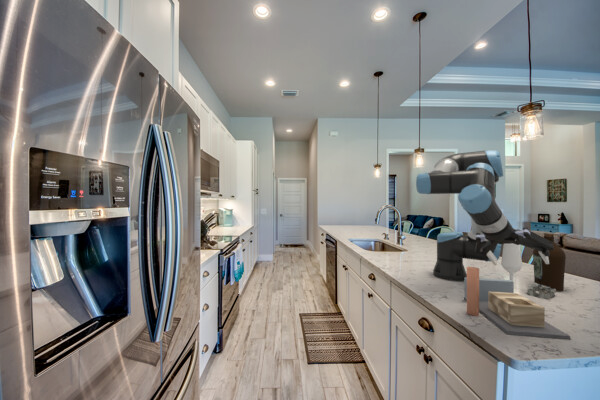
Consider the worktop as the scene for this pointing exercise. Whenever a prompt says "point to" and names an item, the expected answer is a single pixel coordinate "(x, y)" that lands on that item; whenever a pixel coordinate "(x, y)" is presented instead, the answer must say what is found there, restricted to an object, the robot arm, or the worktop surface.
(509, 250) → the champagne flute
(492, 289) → the wall
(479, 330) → the worktop surface
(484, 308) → the mat
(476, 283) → the dowel
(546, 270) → the olive oil
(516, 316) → the socket block
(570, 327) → the worktop surface
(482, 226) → the robot arm
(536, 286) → the egg carton
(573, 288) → the worktop surface
